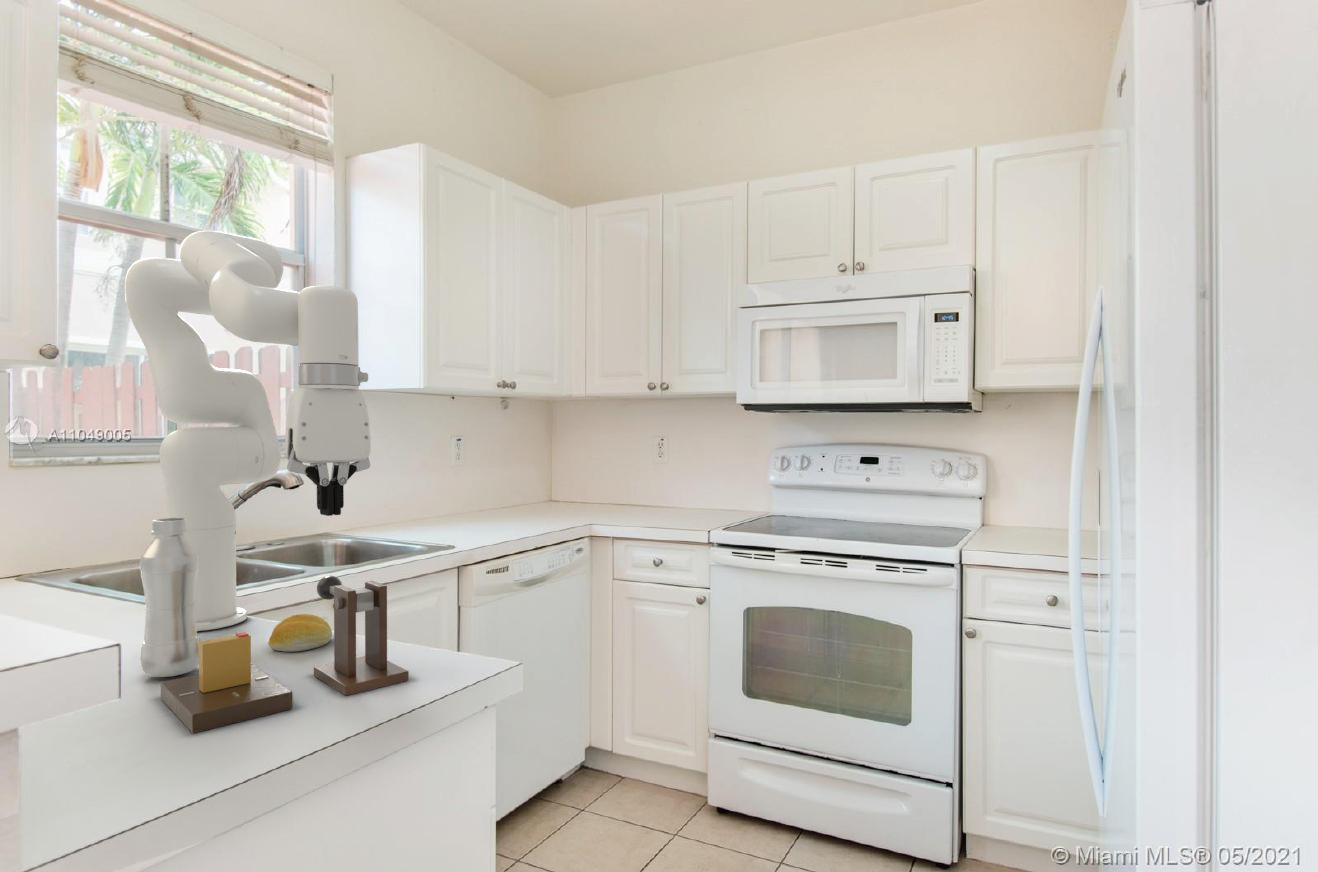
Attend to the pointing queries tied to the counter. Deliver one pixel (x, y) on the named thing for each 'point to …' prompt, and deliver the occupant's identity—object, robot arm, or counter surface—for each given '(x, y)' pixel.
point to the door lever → (362, 594)
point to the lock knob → (224, 662)
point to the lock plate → (225, 701)
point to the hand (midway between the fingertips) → (330, 514)
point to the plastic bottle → (169, 601)
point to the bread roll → (300, 633)
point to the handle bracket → (346, 668)
